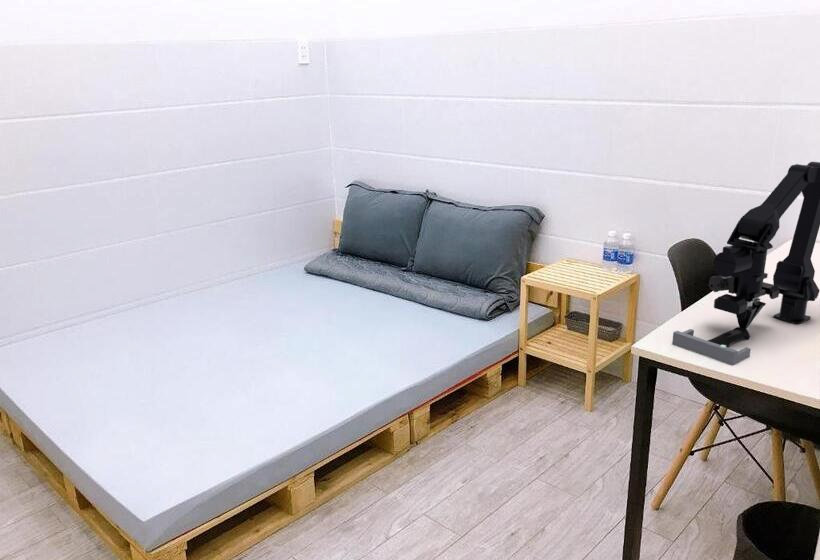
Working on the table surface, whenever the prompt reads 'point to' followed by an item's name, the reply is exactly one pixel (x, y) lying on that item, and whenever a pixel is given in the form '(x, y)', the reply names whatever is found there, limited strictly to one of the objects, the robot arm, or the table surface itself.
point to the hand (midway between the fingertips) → (742, 330)
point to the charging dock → (709, 347)
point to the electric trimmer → (731, 336)
